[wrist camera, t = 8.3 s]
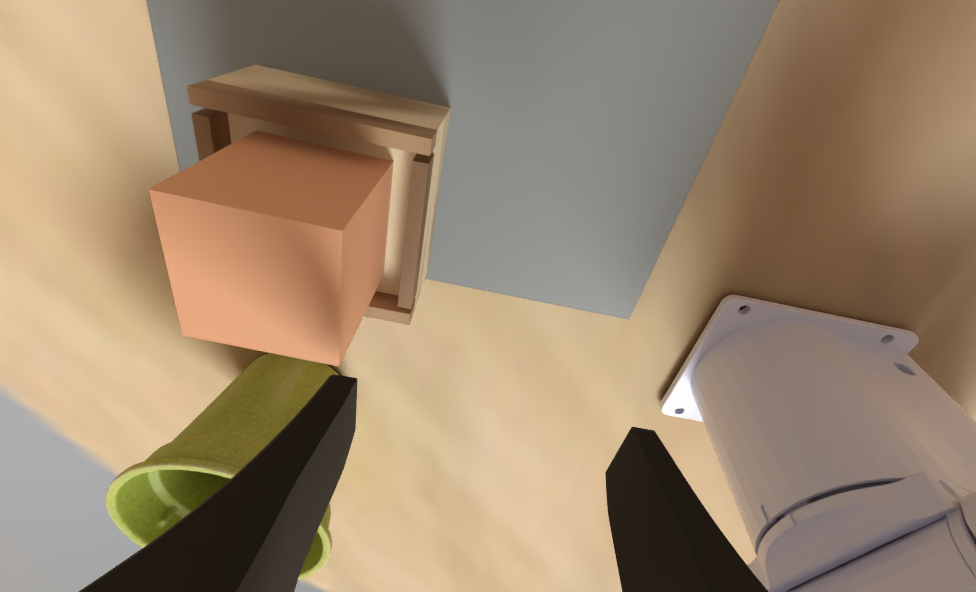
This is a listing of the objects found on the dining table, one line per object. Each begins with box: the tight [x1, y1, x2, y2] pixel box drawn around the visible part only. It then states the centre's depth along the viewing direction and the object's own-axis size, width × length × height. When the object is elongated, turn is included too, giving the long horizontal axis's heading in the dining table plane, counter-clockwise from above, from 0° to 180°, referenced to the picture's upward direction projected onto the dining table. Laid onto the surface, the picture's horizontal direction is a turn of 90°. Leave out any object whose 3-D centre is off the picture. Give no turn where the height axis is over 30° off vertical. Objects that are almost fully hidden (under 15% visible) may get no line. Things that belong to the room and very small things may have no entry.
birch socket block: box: [187, 65, 451, 325], centre depth 17 cm, size 7×7×4 cm
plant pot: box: [105, 353, 339, 580], centre depth 23 cm, size 9×9×9 cm
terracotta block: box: [149, 130, 394, 366], centre depth 14 cm, size 4×4×5 cm
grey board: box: [146, 0, 779, 319], centre depth 16 cm, size 20×18×1 cm
